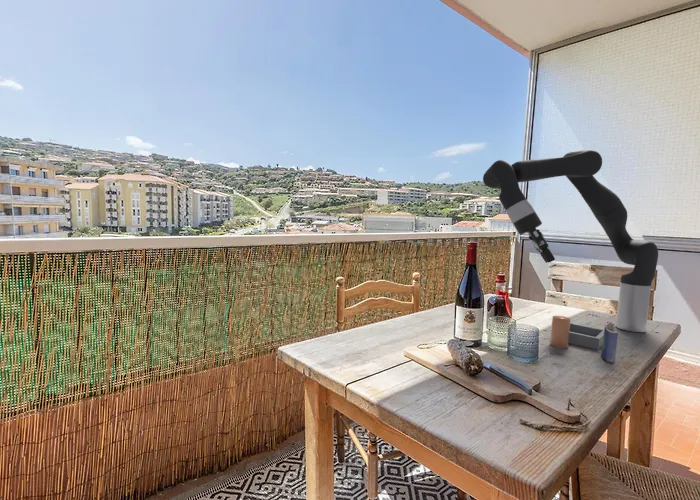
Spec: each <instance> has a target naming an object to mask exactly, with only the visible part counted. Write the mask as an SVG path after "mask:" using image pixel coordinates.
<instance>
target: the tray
mask: <svg viewBox="0 0 700 500" xmlns="http://www.w3.org/2000/svg"><path fill="white" fill-rule="evenodd" d="M603 338H604V329H602V328H599V327H592V326H588V325H584V324H583V325H582V324H578V323H574V322H573V323H572V322H570V331H569V342H568V344H571V345H576V346H581V347H584V348H587V349H589V348H590V349H593V350H597V351H598V350H599V349H601V348H602V346H603Z"/></svg>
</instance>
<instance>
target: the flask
mask: <svg viewBox="0 0 700 500" xmlns="http://www.w3.org/2000/svg"><path fill="white" fill-rule="evenodd" d="M603 330H604V338H603V345H602V346H601V354H600V357H601V358H602V359H603V361H604V362H606V363H609V364H611V363H612V364H614V363H615V362H616V353H617V344H618V337H619V333H618V331H617V329H616V322H615V323H613V322H610V321H607V322H606V325H605V326H604V329H603Z"/></svg>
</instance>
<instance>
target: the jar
mask: <svg viewBox="0 0 700 500" xmlns="http://www.w3.org/2000/svg"><path fill="white" fill-rule="evenodd" d="M551 320H552V321H551V329H550V340H549V341H550V343H549V345H550V346H552V347H554V348H558V349H559V348H560V349H567V348H569V343H568V342H569V331H570V323H571V318H570V317H567V316H563V315H553V316H552V318H551Z"/></svg>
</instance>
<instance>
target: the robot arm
mask: <svg viewBox="0 0 700 500" xmlns="http://www.w3.org/2000/svg"><path fill="white" fill-rule="evenodd" d="M602 165H603V157H602V156H601V154H600V153H599V152H598V151H597V150H594V149H581V150H573V151H569V152H567V153H566V154H564V155H563V156H562V157H561V156H559V157H552V158H551V157H550V158H537V159H536V158H535V159H527V160H526V159H525V160H519V161H516V162H514V163H512V164H510V162H508V161H506V160H504V159H499V160H496V161H494V162H493V163H492V165H491V166H490V167H488V169H487V170H486V171H485V172H484V174H483V176H482V181H483V184H484V185H485V186H486V187H488V188H491V189H500V193H499V196H498V199H499V201H500V203H501V204H502V207H503V209H504V210H505V212H506V214H507V216H508V218H509V220H510V221H511V223H512V224H513V226H514V228H515V230H516V231H517V233H518V235H520V236H521V235H524V234H528V240H529V242H530V243H531V244H532V246H533V248H534V249H535V251H537V252H538V254H540V255H541V258H542V259H543V260H544V262H545V263H551V262H554V261H555V259H556V258H555V256H554V255H553V253H552V252H551V250H550V247H549V244H548V241H547V239H546V238H545V237H544V234H543V233H542V231H540V229H538V227H540V226H541V225H542V223H543V222H542V220H541V219H540V217H539V215H538V214H537V213H536V212H537V211H535V209H534V207H533V206H532V205H531V203H530V202H529V201H528V199H527V198H526V196H525V194H524V193H523V192H522V190H521V189H520V185H519V184H520V183H527V182H533V181H534V182H535V181H539V180H544V179H551V178H555V177H557V178H558V177H564V176H565V177H566V178H567V179H568V180H569V182H570V183H571V184H572V185H573V186H574V188H576V190H577V191H578V193H579V195H580V196H581V197H582V198H583V200H584V201H585V203H586V204H587V206H588V208H589V210H591V212H592V214H593V216H594V217H595V219H596V221H597V222H598V223H599V224H600V226H601V227H602V229H603V230H604V232H605V233H606V236H607V237H608V239H609V240H610V243H611V246H613V247H612V248H613V249H614V251H615V253H616V256H617V257H618V258H619V260H620V261H621V262H622V263H624V264H626V265H630V266H634V267H633V269H632V271H631V272H629V273H624V274H622V275H621V277H620V285H619V293H618V301H617V311H616V320H615V328H618V329H620V330H624V331H627V332H634V333H646V332H647V326H648V325H647V324H648V318H649V309H650V308H649V307H650V300H651V299H650V298H651V292H652V291H651V290H652V282H653V280H654V279H655V276H656V270H657V265H658V259H659V249H658V246H657V244H655V243H654V242H651V241H645V240H634V239H633V238H632V237H631V236H630V235H631V234H630V233H629V232H628V230H627V228H626V227H627V222H628V209H626V206H625V205H624V203H623V201H622V200H621V199H620V197H619V196H618V195H617V194H616V193H615V192H613V191H612V190H611V189H609V188H608V187H606V186H605V185H604V184H602V183H601V182H600V181H598V180H597V179H596V177H595V176H594V175H597V173H598V172H599V171H600V170H601V168H602Z"/></svg>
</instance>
